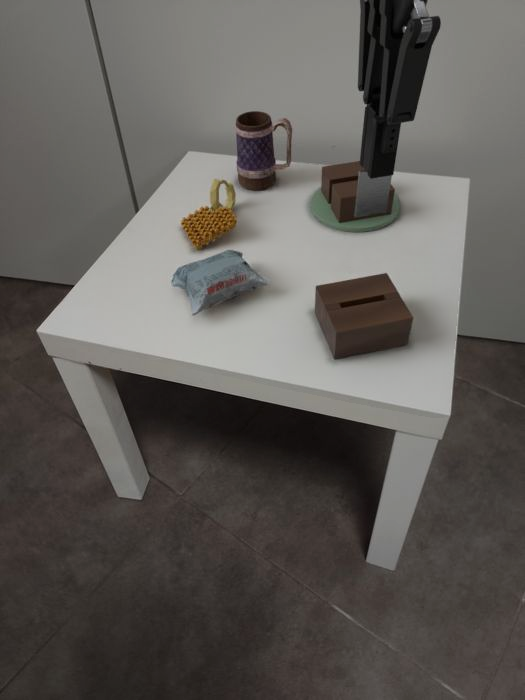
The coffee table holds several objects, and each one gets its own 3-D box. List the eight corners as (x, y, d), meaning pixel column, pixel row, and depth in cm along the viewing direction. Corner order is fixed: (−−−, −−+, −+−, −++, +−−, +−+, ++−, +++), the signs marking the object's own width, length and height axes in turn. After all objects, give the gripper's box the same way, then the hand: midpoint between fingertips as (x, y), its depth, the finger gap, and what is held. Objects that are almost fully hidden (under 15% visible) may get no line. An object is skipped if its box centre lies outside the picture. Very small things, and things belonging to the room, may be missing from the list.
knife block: (407, 345, 71) (413, 317, 67) (334, 359, 70) (336, 332, 66) (382, 300, 77) (386, 272, 73) (314, 312, 76) (315, 285, 72)
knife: (389, 216, 65) (405, 108, 56) (357, 221, 65) (368, 113, 55) (382, 207, 67) (398, 100, 57) (352, 212, 66) (362, 105, 57)
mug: (232, 188, 98) (226, 123, 90) (245, 168, 103) (241, 105, 94) (286, 196, 96) (285, 130, 87) (297, 176, 100) (297, 111, 92)
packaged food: (269, 295, 79) (267, 268, 75) (194, 325, 75) (189, 298, 71) (242, 263, 84) (239, 237, 80) (171, 290, 80) (165, 263, 77)
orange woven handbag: (215, 232, 81) (250, 164, 88) (159, 231, 86) (196, 166, 92) (231, 263, 86) (263, 196, 93) (178, 260, 91) (212, 197, 97)
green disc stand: (413, 223, 89) (419, 194, 85) (325, 238, 87) (326, 209, 83) (380, 177, 99) (383, 149, 95) (300, 190, 97) (300, 162, 93)
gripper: (335, -107, 49) (324, 143, 66) (402, -74, 39) (368, 210, 56) (414, -115, 50) (382, 134, 67) (499, -84, 40) (436, 199, 57)
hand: (376, 168), depth 61 cm, fingers closed on knife, 2 cm apart
